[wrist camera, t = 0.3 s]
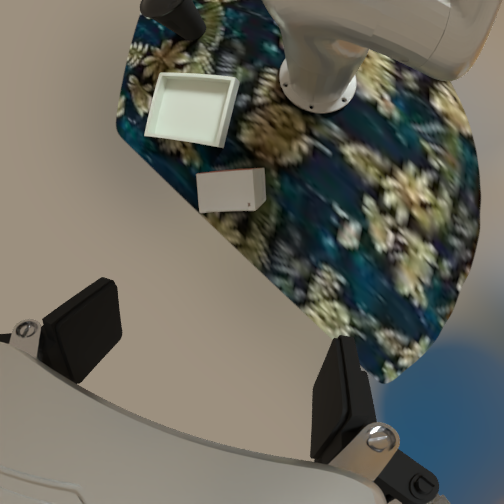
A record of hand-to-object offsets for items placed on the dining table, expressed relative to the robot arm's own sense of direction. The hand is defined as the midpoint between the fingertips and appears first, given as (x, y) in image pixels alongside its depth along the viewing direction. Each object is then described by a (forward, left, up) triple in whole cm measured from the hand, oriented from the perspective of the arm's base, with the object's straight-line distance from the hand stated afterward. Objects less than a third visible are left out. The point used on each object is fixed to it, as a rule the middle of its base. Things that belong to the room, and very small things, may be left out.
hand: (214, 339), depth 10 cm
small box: (-2, -7, -37) cm, 37 cm away
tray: (-13, -19, -36) cm, 43 cm away
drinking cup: (-30, -23, -37) cm, 52 cm away
